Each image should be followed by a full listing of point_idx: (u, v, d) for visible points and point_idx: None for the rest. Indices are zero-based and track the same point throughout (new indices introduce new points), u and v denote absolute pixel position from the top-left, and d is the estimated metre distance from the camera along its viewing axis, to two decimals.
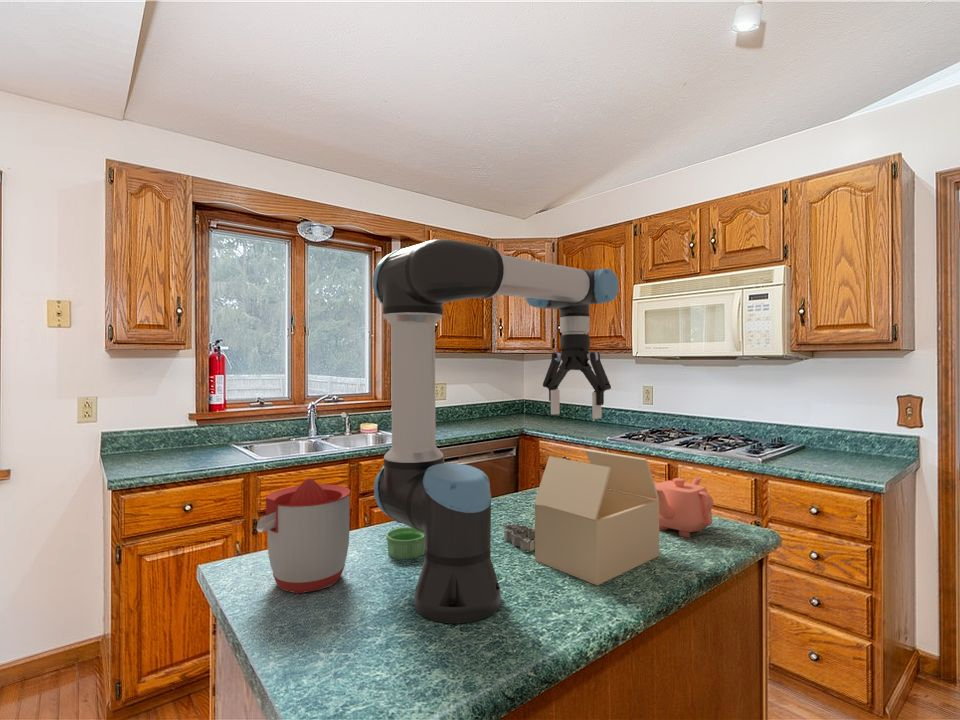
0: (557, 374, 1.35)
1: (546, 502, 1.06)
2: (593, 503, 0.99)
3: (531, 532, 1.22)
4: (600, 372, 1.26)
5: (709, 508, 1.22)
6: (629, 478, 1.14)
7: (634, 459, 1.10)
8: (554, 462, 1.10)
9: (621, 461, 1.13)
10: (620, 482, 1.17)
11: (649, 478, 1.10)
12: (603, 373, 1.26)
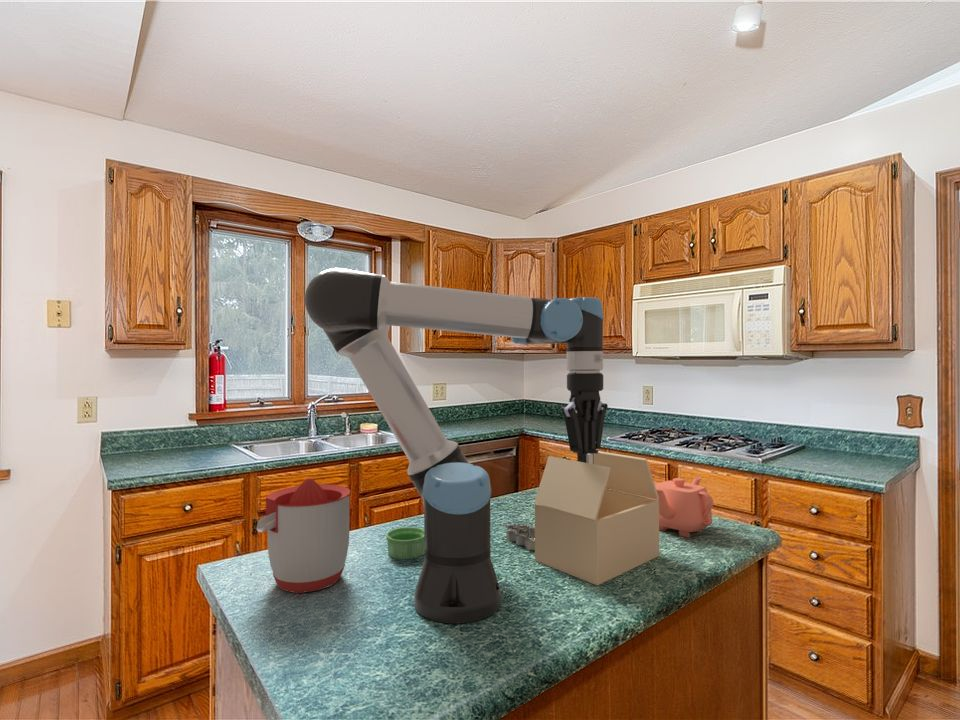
0: None
1: (546, 502, 1.06)
2: (592, 503, 0.99)
3: (533, 531, 1.23)
4: (568, 432, 1.05)
5: (709, 508, 1.22)
6: (629, 478, 1.14)
7: (634, 459, 1.10)
8: (554, 462, 1.10)
9: (621, 461, 1.13)
10: (620, 482, 1.17)
11: (649, 478, 1.10)
12: (572, 434, 1.05)
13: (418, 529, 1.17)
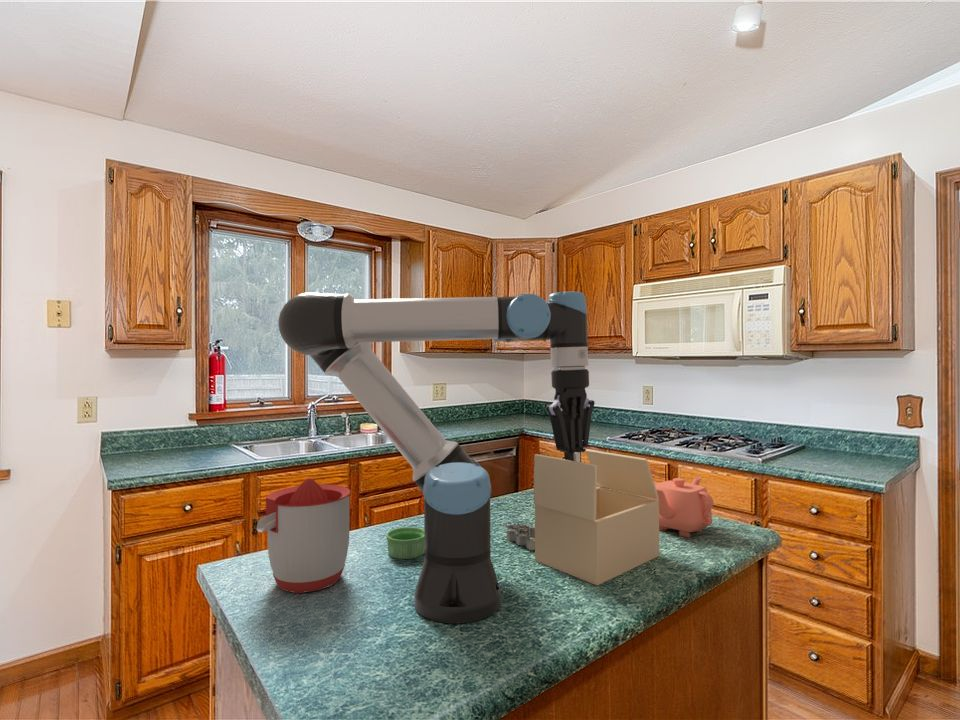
0: None
1: (544, 503, 1.06)
2: (588, 504, 0.98)
3: (533, 531, 1.23)
4: (554, 431, 1.02)
5: (709, 508, 1.22)
6: (629, 478, 1.14)
7: (634, 459, 1.10)
8: (541, 461, 1.07)
9: (621, 461, 1.13)
10: (620, 482, 1.17)
11: (649, 478, 1.10)
12: (558, 433, 1.02)
13: (418, 529, 1.17)
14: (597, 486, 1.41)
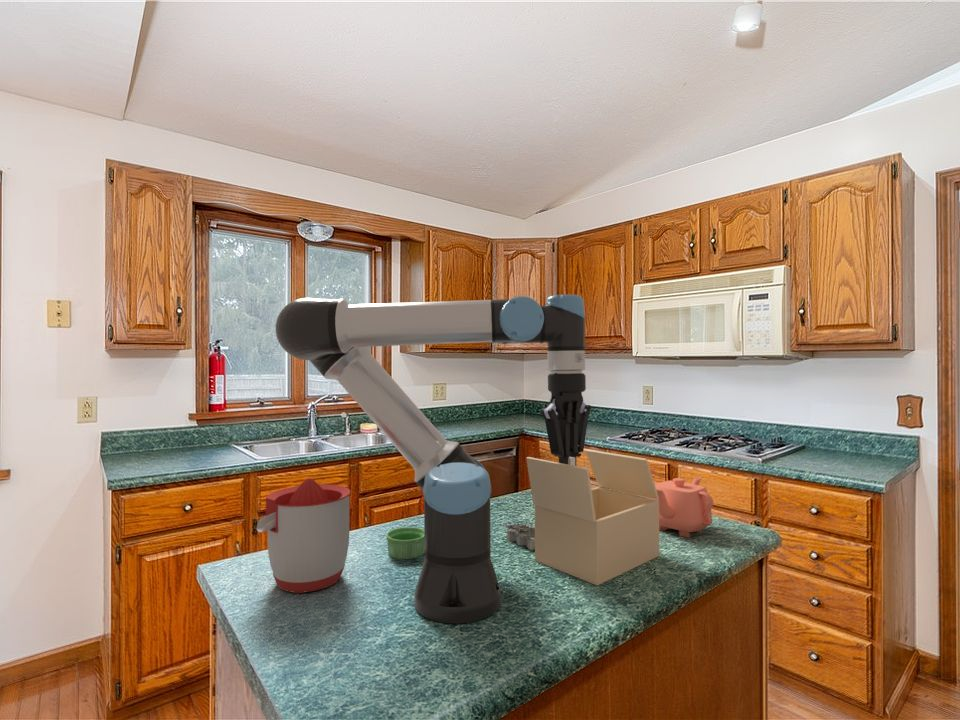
0: None
1: (544, 504, 1.06)
2: (586, 505, 0.97)
3: (533, 531, 1.23)
4: (549, 435, 1.01)
5: (709, 508, 1.22)
6: (629, 478, 1.14)
7: (634, 459, 1.10)
8: (533, 464, 1.06)
9: (621, 461, 1.13)
10: (620, 482, 1.17)
11: (649, 478, 1.10)
12: (553, 437, 1.00)
13: (418, 529, 1.17)
14: (597, 486, 1.41)
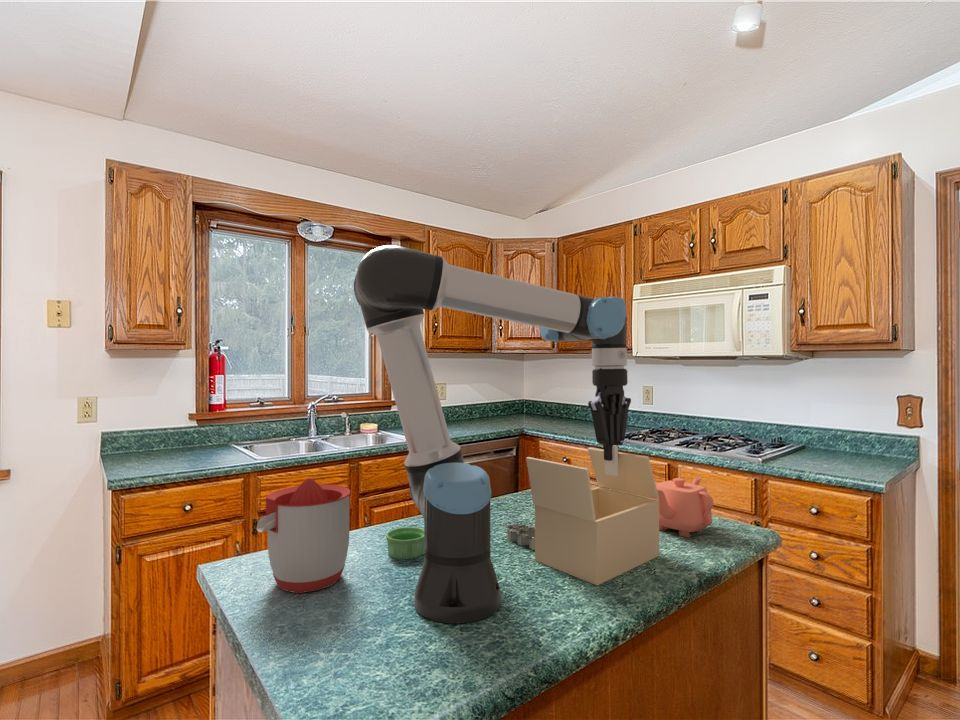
0: None
1: (544, 504, 1.06)
2: (586, 505, 0.97)
3: (533, 530, 1.23)
4: (595, 425, 1.11)
5: (709, 508, 1.22)
6: (630, 477, 1.14)
7: (636, 457, 1.11)
8: (533, 464, 1.06)
9: (623, 459, 1.14)
10: (621, 481, 1.17)
11: (650, 477, 1.10)
12: (599, 427, 1.10)
13: (418, 529, 1.17)
14: (597, 486, 1.41)
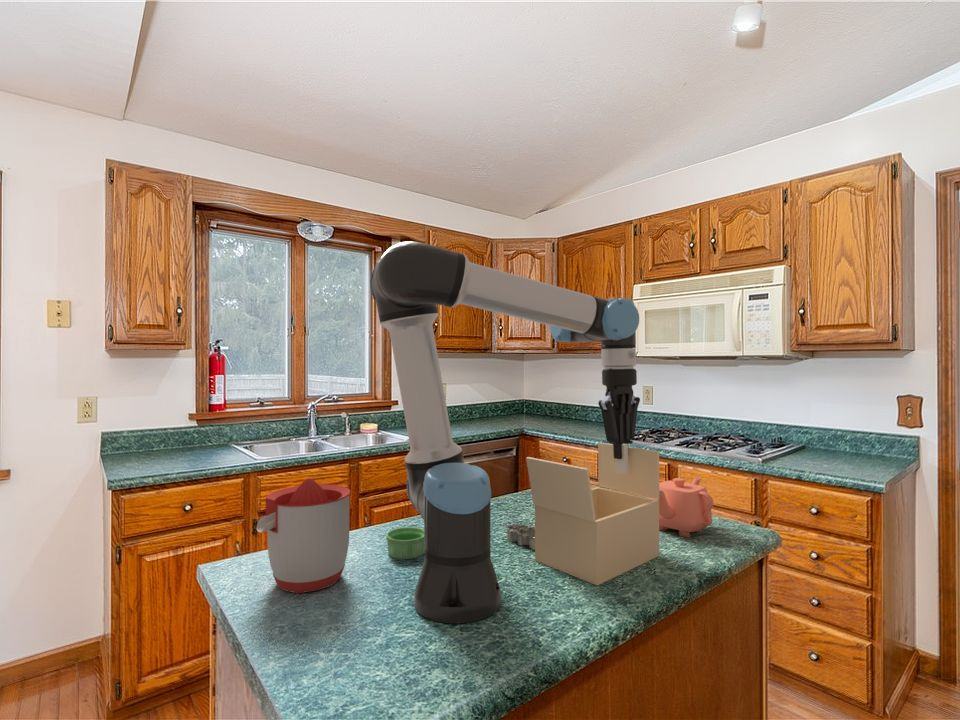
0: None
1: (544, 504, 1.06)
2: (586, 505, 0.97)
3: (533, 530, 1.23)
4: (605, 424, 1.13)
5: (709, 508, 1.22)
6: (634, 474, 1.16)
7: (646, 451, 1.13)
8: (533, 464, 1.06)
9: (632, 454, 1.16)
10: (623, 480, 1.18)
11: (656, 473, 1.12)
12: (609, 426, 1.12)
13: (418, 529, 1.17)
14: (597, 486, 1.41)
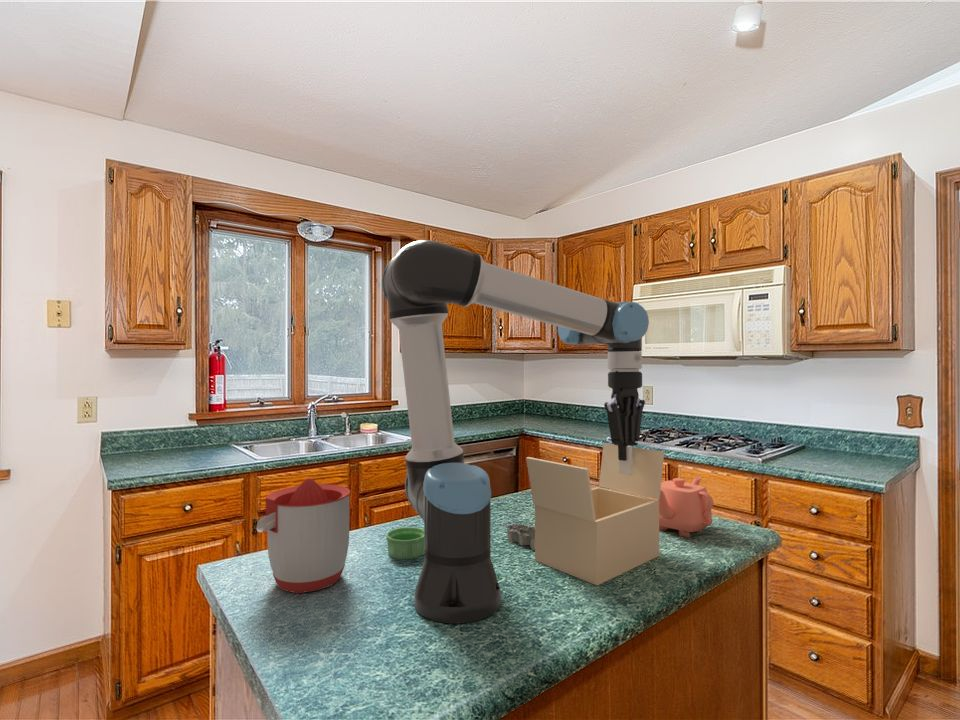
0: None
1: (544, 504, 1.06)
2: (586, 505, 0.97)
3: (533, 530, 1.23)
4: (610, 426, 1.14)
5: (709, 508, 1.22)
6: (637, 474, 1.16)
7: (652, 451, 1.15)
8: (533, 464, 1.06)
9: (637, 454, 1.17)
10: (625, 479, 1.18)
11: (659, 473, 1.12)
12: (614, 428, 1.14)
13: (418, 529, 1.17)
14: (597, 486, 1.41)
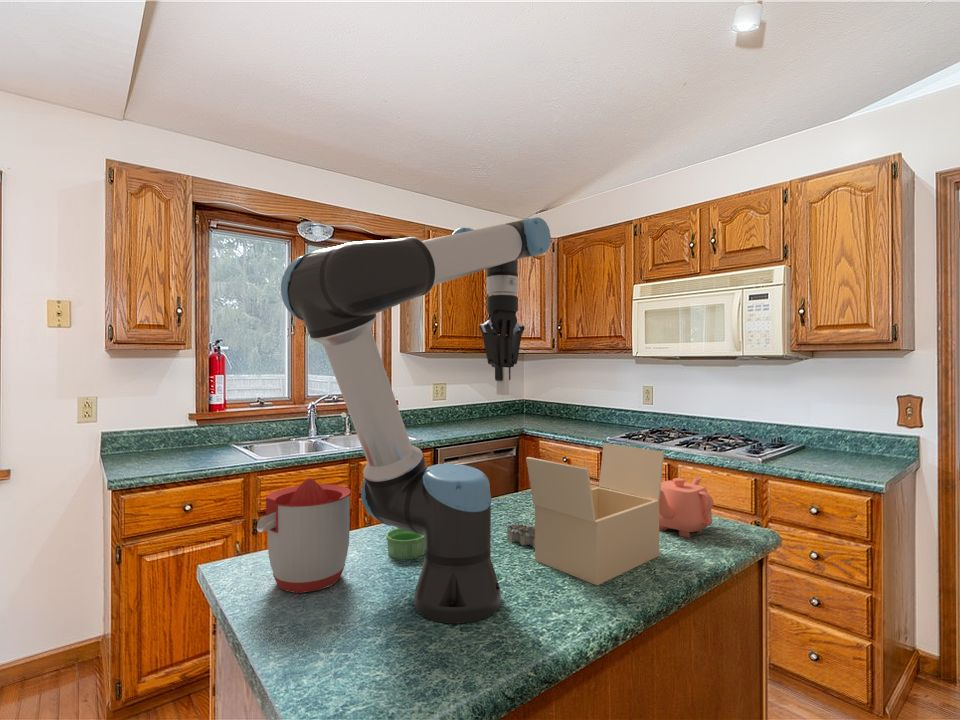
0: None
1: (544, 504, 1.06)
2: (586, 505, 0.97)
3: (532, 530, 1.24)
4: (486, 347, 1.20)
5: (709, 508, 1.22)
6: (637, 474, 1.16)
7: (652, 451, 1.15)
8: (533, 464, 1.06)
9: (637, 454, 1.17)
10: (625, 479, 1.18)
11: (659, 473, 1.12)
12: (489, 348, 1.19)
13: None
14: (597, 486, 1.41)
